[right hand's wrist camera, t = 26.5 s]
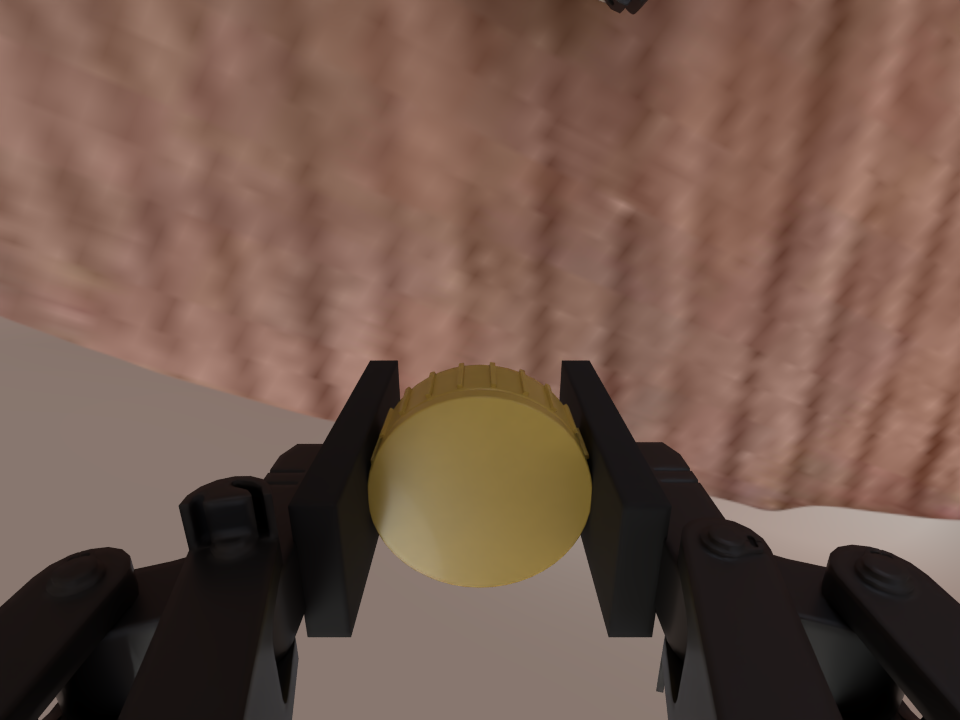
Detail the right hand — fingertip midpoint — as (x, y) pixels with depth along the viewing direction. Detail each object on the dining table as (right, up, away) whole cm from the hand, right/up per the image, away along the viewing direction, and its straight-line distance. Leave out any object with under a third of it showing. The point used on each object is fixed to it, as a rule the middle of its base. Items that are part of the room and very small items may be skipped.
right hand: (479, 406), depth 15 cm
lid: (0, -1, -4) cm, 4 cm away
